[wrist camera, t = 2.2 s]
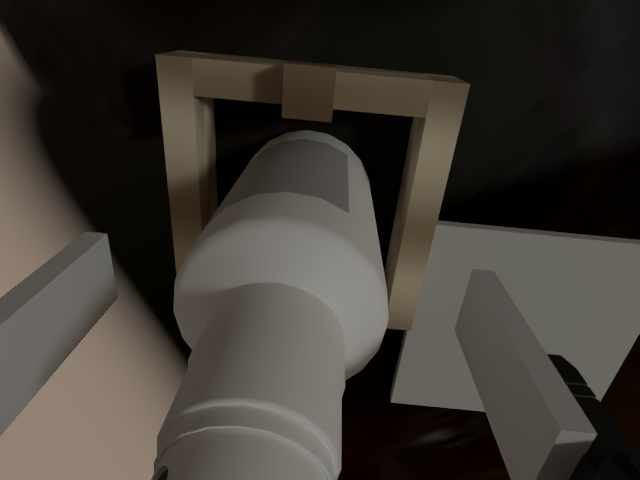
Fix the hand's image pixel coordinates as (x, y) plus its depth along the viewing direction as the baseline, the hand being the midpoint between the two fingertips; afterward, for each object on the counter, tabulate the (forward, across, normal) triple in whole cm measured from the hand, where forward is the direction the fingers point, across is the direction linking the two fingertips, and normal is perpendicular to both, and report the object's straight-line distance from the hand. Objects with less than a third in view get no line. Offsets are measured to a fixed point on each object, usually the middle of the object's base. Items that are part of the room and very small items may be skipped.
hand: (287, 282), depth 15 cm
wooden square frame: (+9, 0, 0) cm, 9 cm away
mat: (+9, +14, -8) cm, 18 cm away
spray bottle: (+9, 0, 0) cm, 9 cm away
